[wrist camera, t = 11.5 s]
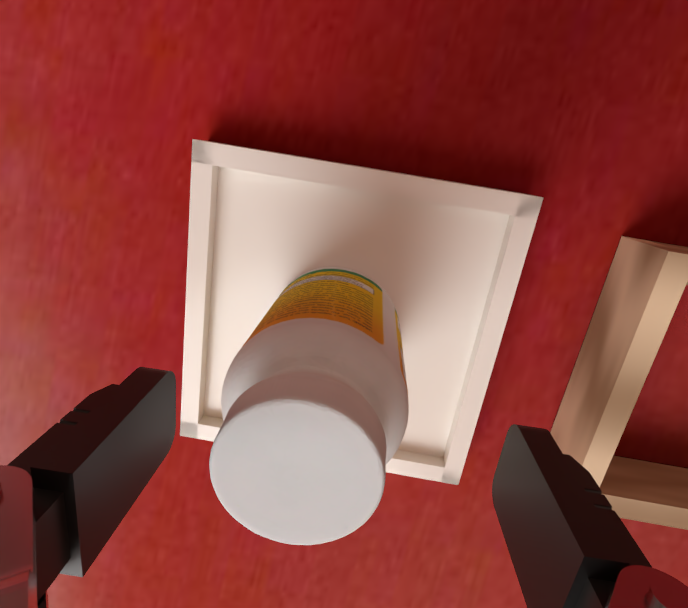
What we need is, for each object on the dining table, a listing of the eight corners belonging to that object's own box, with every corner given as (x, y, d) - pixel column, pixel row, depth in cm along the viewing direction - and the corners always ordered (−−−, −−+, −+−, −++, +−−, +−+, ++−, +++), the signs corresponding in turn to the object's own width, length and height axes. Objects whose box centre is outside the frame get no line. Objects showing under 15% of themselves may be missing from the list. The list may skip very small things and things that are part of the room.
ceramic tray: (207, 140, 18) (192, 139, 16) (530, 194, 17) (543, 197, 16) (192, 417, 22) (179, 435, 20) (452, 463, 22) (458, 484, 20)
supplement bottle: (422, 342, 19) (464, 515, 10) (320, 400, 20) (273, 601, 11) (352, 237, 18) (327, 324, 9) (248, 305, 19) (130, 444, 10)
